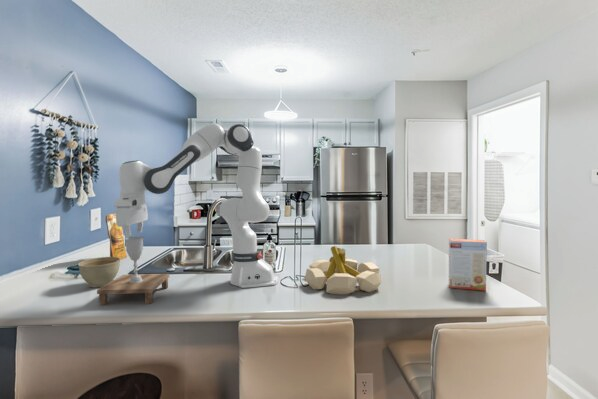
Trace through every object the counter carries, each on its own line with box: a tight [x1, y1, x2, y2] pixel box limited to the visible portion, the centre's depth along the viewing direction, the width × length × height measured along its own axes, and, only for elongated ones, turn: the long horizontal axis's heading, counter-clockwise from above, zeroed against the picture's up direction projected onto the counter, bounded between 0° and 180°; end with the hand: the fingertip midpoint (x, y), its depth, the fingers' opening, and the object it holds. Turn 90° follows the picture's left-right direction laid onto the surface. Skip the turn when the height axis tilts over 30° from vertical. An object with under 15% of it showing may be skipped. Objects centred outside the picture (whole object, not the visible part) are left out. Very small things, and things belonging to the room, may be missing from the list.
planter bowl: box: [78, 256, 121, 288], centre depth 146 cm, size 16×16×11 cm
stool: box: [96, 273, 170, 306], centre depth 131 cm, size 20×20×6 cm
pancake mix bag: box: [105, 212, 128, 261], centre depth 193 cm, size 7×19×28 cm, turn 3°
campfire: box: [304, 245, 382, 295], centre depth 146 cm, size 35×34×17 cm
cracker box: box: [448, 238, 488, 292], centre depth 138 cm, size 14×6×21 cm, turn 71°
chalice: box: [124, 236, 145, 283], centre depth 130 cm, size 7×7×18 cm
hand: (134, 234), depth 130 cm, fingers open, 8 cm apart
